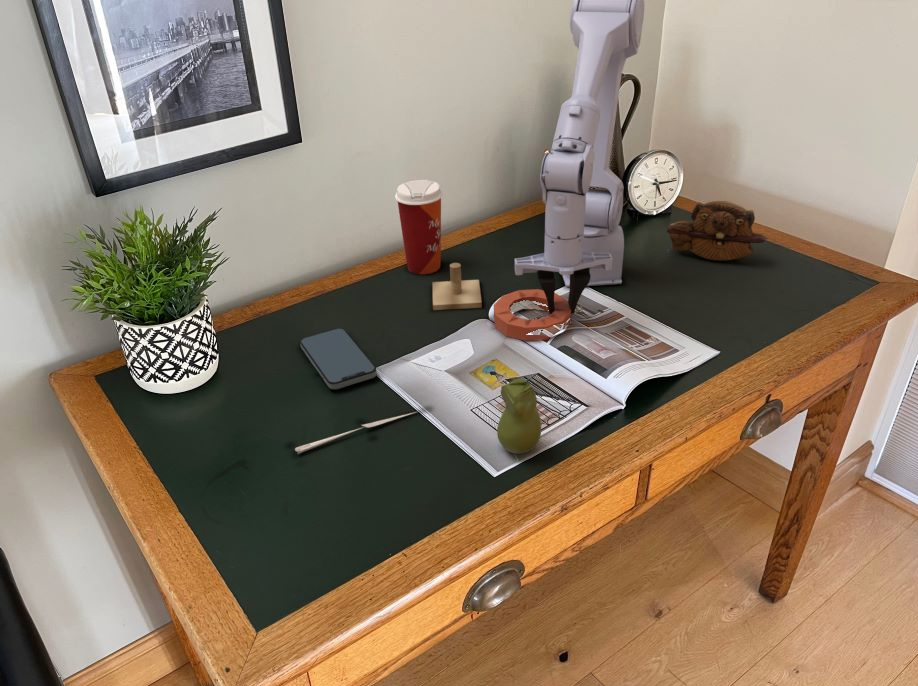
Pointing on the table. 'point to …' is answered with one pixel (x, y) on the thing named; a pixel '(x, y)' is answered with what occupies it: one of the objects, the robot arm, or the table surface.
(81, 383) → the table surface
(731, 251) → the wooden carving
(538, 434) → the pear
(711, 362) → the table surface
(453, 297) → the post
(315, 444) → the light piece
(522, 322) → the ring
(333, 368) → the smartphone
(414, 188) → the coffee cup
